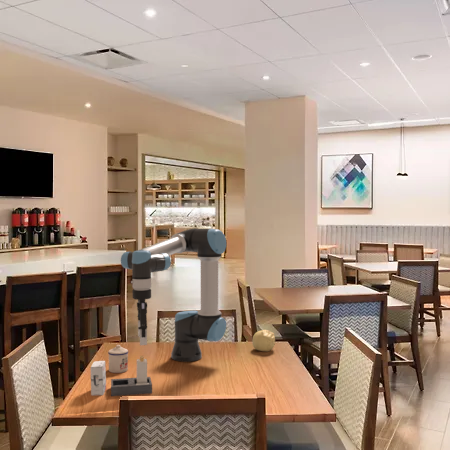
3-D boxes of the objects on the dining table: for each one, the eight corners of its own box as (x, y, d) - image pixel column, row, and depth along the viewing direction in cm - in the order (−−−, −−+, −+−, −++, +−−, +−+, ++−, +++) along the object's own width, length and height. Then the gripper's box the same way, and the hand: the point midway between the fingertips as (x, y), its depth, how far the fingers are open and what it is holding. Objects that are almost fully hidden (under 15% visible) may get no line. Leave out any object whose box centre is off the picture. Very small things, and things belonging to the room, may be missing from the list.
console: (150, 386, 221) (150, 376, 221) (152, 394, 211) (152, 384, 211) (111, 388, 217) (111, 378, 217) (111, 397, 208) (111, 386, 208)
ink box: (93, 389, 217) (93, 360, 217) (106, 389, 217) (106, 360, 217) (90, 396, 208) (90, 366, 208) (103, 396, 209) (103, 366, 208)
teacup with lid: (123, 374, 237) (123, 348, 236) (104, 372, 239) (104, 347, 239) (134, 366, 248) (134, 341, 248) (116, 364, 251) (116, 340, 250)
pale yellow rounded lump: (272, 353, 271) (273, 333, 271) (250, 351, 275) (250, 331, 274) (276, 348, 282) (277, 328, 282) (255, 346, 286) (255, 326, 285)
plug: (146, 387, 218) (146, 354, 217) (147, 390, 214) (147, 357, 213) (136, 388, 217) (136, 355, 216) (137, 391, 213) (137, 358, 212)
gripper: (131, 284, 225) (131, 333, 226) (133, 294, 201) (134, 349, 202) (148, 283, 227) (149, 332, 228) (153, 293, 203) (154, 348, 204)
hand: (142, 340), depth 215 cm, fingers open, 13 cm apart
